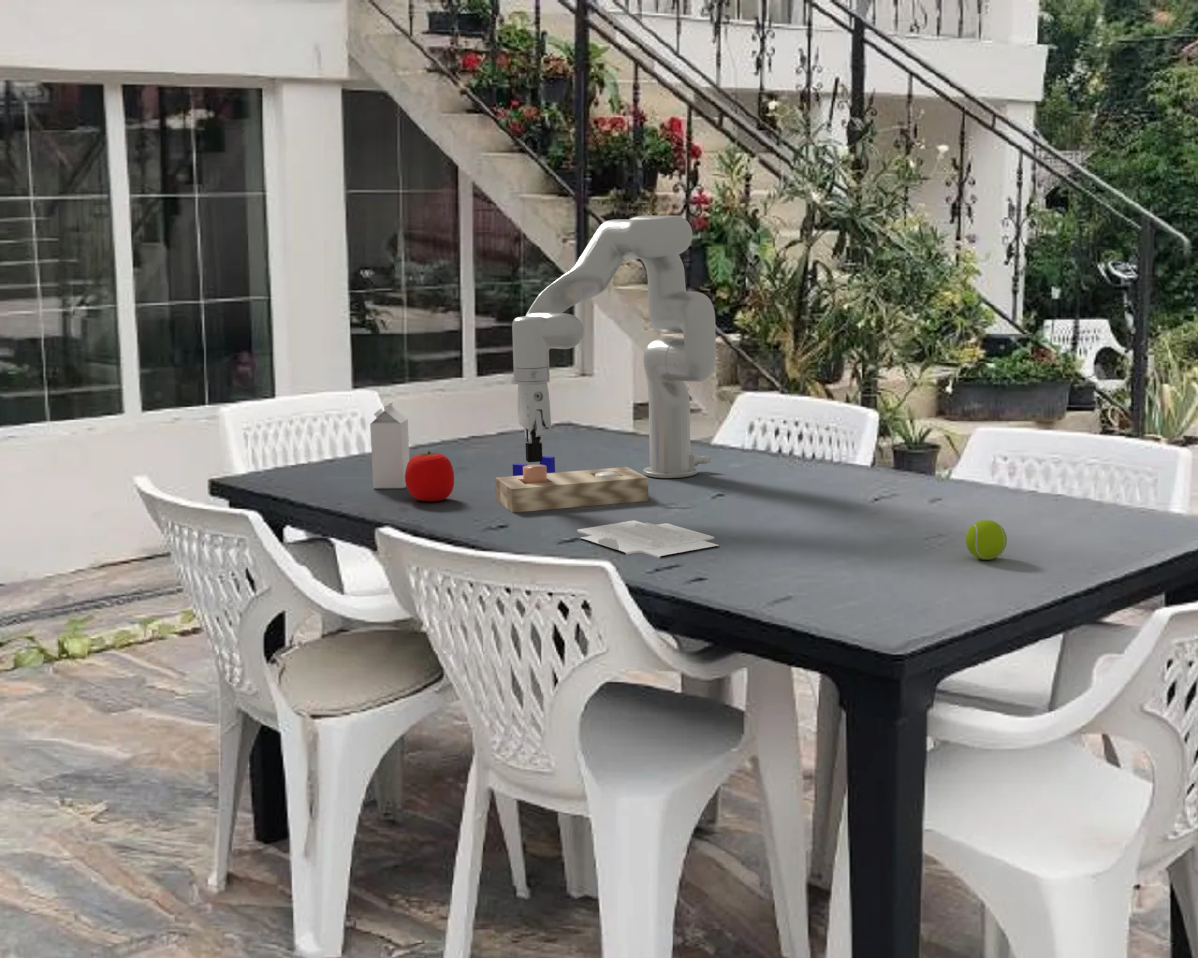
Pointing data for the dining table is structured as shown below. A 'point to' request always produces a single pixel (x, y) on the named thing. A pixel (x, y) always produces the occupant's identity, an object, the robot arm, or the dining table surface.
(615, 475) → the white domed cylinder
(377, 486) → the milk carton
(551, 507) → the housing
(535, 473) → the peach rounded piece
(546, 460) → the cable clip
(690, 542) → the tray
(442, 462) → the tomato
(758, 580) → the dining table surface
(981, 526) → the tennis ball
